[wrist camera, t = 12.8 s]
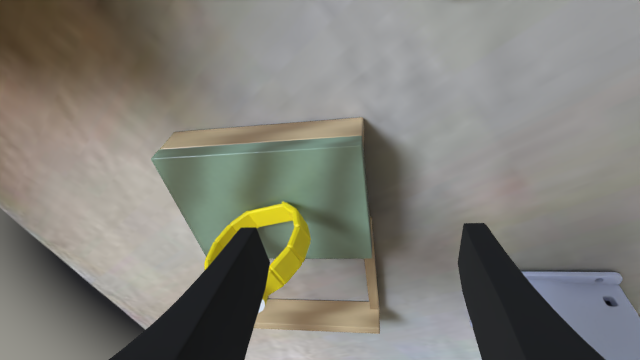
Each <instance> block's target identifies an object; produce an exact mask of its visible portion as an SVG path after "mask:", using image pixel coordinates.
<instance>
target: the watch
mask: <svg viewBox="0 0 640 360" xmlns="http://www.w3.org/2000/svg"><path fill="white" fill-rule="evenodd" d="M288 221H293V223H294V230H293V232H292V235H291V237H290V239H289V242H288V244H287V247H286V248H285V249H284V250H283V251H282V252H281V253H280V254H279V256H278V257H277V258H276V259H275V260H274V261H273V262H272V264H271V265H270V266H269V271H268V277H267V283H266V288H265V292H264V295H263V298H262V302H261V305H260V309H259V312H258V313H260V312H261V311H263V310H264V308H265V306H266V302H267V299H268V295H270V294H271V293H273V292H275V291H276V290H278V289H279V288H281V287H283V285H284V284H286V283H287V282H288V281H289V280H290V278H291V277H292V276H293V275H294V274H295V272H296V271H297V270H298V269H299V268H300V266H301V265H302V262H304V260H305V257H306V254H307V251H308V248H309V245H310V240H311V238H310V233H309V228H308V225H307V223H306V222H305V220H304V219H303V217H302V216H301V214H300V213H299V211H298V210H297V209H296V208H295V207H293V206H292V205H290V204H288V203H287V202H284V201H283V202H282V203H281V204H277V205H272V206H268V207H264V208H259V209H255V210H250V211H246V212H244V213H243V214H242V215H240V216H239V217H238V218H236V219H235V220H233V221H232V222H231V223H230V225H228V226H227V227H226V228H225V229H224V230H223V231H222V232H221V234H220V235H219V236H218V237H217V238H216V239H215V242H213V244H212V246H211V248H210V250H209V253H208V255H207V257H206V259H205V263H204V265H205V270H206V269H207V267H208V266H209V265H210V264H211V263H212V262H213V260H214V259H215V258H216V257H217V256H218V254H219V253H220V252H221V251H222V250H223V248H224V247H225V246H226V245H227V243H228V242H229V241H230V240H231V239H232V237H233V236H234V235H235V234H236V233H237V231H238V230H239V229H240V228H244V227H256V228H259V227H262V226H267V225H272V224H278V223H283V222H288Z"/></svg>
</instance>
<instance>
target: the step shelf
mask: <svg viewBox="0 0 640 360" xmlns="http://www.w3.org/2000/svg"><path fill="white" fill-rule="evenodd" d="M363 148H364V122H363V118H362V117H359V118H347V119H334V120H321V121H309V122H296V123H284V124H271V125H258V126H246V127H233V128H220V129H208V130H195V131H182V132H174V133H173V134H172V136H171V137H170V138H169V139H168V140H167V141H166V142H165V144H164V145H163V146H162V147H161V148H160V150H158V151H157V153H156V154H155V155H154V156H153V157H152V158H151V160H152V162H153V164H154V165H155V167H156V169H157V171H158V172H159V174H160V176H161V178H162V179H163V181H164V183H165V185H166V187H167V188H168V190H169V192H170V194H171V195H172V197H173V199H174V201H175V202H176V204H177V206H178V208H179V209H180V211H181V213H182V215H183V217H184V218H185V220H186V222H187V224H188V225H189V227H190V229H191V231H192V232H193V234H194V236H195V238H196V240H197V241H198V243H199V245H200V247H201V248H202V250H203V252H204V254H205V255H206V257H207V255H208V253H209V250H210V248H211V246H212V244H213V242H215V239H216V238H217V237H218V236H219V235H220V234H221V232H222V231H223V230H224V229H225V228H226V227H227V226H228V225H230V223H231V222H232V221H233V220H235V219H236V218H238V217H239V216H240V215H242V214H243V213H244V212H246V211H250V210H255V209H259V208H264V207H268V206H272V205H277V204H281V203H282V202H283V201H284V202H287V203H288V204H290V205H292V206H293V207H295V208H296V209H297V210H298V211H299V213H300V214H301V216H302V217H303V219H304V220H305V222H306V223H307V225H308V228H309V233H310V238H311V240H310V245H309V248H308V251H307V254H306V257H305V259H364V261H365V269H366V278H367V286H368V295H369V302H361V301H321V300H281V299H267V302H266V306H265V308H264V310H263V311H261V312H260V313H258V315H257V318H256V322H255V325H254V328H260V329H284V330H307V331H331V332H354V333H378V334H379V333H380V308H379V296H378V285H377V273H376V261H375V250H374V238H373V227H372V217H370V216H369V205H368V194H367V183H366V172H365V161H364V150H363ZM293 230H294V223H293V221H288V222H283V223H278V224H272V225H267V226H262V227H259V228H257V231H258V233H259V236H260V238H261V241H262V243H263V246H264V249H265V251H266V254H267V256H268V258H277V257H278V256H279V254H280V253H281V252H282V251H283V250H284V249H285V248H286V247H287V244H288V242H289V239H290V237H291V235H292V232H293Z"/></svg>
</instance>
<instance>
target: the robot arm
mask: <svg viewBox="0 0 640 360" xmlns="http://www.w3.org/2000/svg"><path fill="white" fill-rule="evenodd" d="M269 265H270V261H269V259H268V256H267V254H266V251H265V249H264V246H263V243H262V241H261V238H260V236H259V233H258V231H257V228H256V227H244V228H240V229H239V230H238V231H237V233H236V234H235V235H234V236H233V237H232V239H231V240H230V241H229V242H228V243H227V245H226V246H225V247H224V248H223V250H222V251H221V252H220V253H219V254H218V256H217V257H216V258H215V259H214V260H213V262H212V263H211V264H210V265H209V266H208V267H207V269H206V270H205V271H204V272H203V273H202V274H201V276H200V277H199V278H198V279H197V280H196V281H195V282H194V283H193V284H192V285H191V286H190V288H189V289H188V290H187V291H186V292H185V293H184V294H183V295H182V296H181V297H180V298H179V299H178V300H177V301H176V302H175V303H174V304H173V305H172V306H171V307H170V308H169V309H168V310H167V311H166V312H165V313H164V314H163V315H162V316H161V317H160V318H159V319H158V320H156V321H155V322H154V323H153V324H152V325H151V326H150V327H149V328H147V329H146V330H145V331H144V332H143V333H141V334H140V335H139V336H138V337H137V338H136V339H134V340H133V341H132V342H131V343H129V344H128V345H127V346H126V347H125V348H123V349H122V350H121V351H119V352H118V353H117V354H116V355H114V356H113V357H112V358H110V359H109V360H244V359H245V355H246V352H247V348H248V344H249V341H250V338H251V335H252V331H253V328H254V325H255V322H256V318H257V315H258V312H259V309H260V305H261V302H262V298H263V295H264V292H265V288H266V283H267V277H268V271H269ZM458 267H459V273H460V279H461V285H462V291H463V295H464V299H465V302H466V306H467V309H468V313H469V316H470V325H471V327H473V330H474V333H475V337H476V340H477V344H478V347H479V351H480V354H481V357H482V360H640V317H639V315H638V314H637V312H636V311H635V309H634V308H633V306H632V304H631V303H630V301H629V300H628V298H627V297H626V295H625V294H624V292H623V290H622V289H621V287H620V286H619V284H620V283H621V281H622V280H623V278H622V276H621V275H620V273H617V272H536V271H520V270H519V269H518V267H517V266H516V265H515V264H514V262H513V261H512V260H511V258H510V257H509V256H508V255H507V253H506V252H505V251H504V249H503V248H502V247H501V245H500V244H499V242H498V241H497V240H496V238H495V237H494V235H493V234H492V233H491V231H490V230H489V228H488V227H487V225H485V224H484V223H466V224H464V226H463V232H462V239H461V245H460V252H459V258H458Z"/></svg>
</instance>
